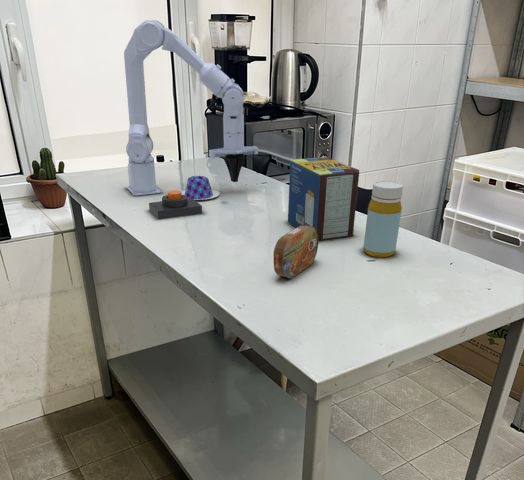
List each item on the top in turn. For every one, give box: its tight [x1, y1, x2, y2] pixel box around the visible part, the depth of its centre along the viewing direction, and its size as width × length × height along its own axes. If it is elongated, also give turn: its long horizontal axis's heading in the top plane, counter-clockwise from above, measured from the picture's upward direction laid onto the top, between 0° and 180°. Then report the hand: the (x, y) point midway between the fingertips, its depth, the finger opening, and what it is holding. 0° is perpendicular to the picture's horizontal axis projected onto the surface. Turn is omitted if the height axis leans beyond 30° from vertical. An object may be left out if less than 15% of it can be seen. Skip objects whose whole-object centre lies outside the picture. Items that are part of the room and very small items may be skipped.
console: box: [148, 194, 203, 220], centre depth 142 cm, size 12×8×4 cm, turn 116°
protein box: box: [287, 156, 360, 242], centre depth 129 cm, size 10×15×16 cm
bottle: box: [363, 180, 404, 258], centre depth 117 cm, size 7×7×15 cm
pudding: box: [180, 175, 220, 201], centre depth 155 cm, size 12×12×5 cm
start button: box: [166, 189, 182, 200], centre depth 141 cm, size 4×4×2 cm
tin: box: [273, 226, 319, 279], centre depth 109 cm, size 15×3×8 cm, turn 148°
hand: (234, 181), depth 159 cm, fingers closed
